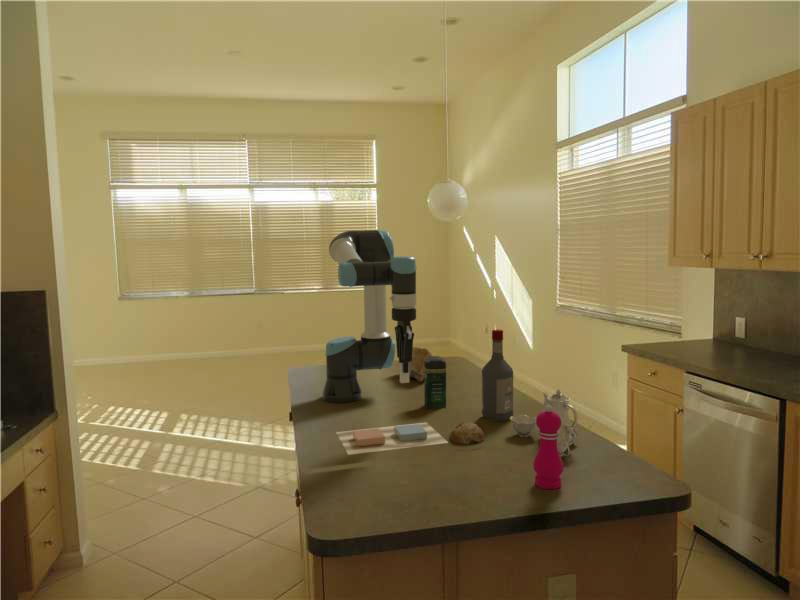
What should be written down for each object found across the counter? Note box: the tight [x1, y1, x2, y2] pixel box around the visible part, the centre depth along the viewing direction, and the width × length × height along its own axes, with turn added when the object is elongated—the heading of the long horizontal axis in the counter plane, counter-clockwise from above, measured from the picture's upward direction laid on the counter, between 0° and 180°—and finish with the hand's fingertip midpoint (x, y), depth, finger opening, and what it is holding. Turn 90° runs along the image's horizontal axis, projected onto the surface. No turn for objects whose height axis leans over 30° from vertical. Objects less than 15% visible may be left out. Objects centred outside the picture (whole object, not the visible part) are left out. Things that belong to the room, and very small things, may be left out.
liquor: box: [481, 329, 514, 422], centre depth 194 cm, size 9×9×30 cm
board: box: [335, 422, 449, 456], centre depth 174 cm, size 20×30×1 cm, turn 106°
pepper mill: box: [532, 405, 564, 490], centre depth 141 cm, size 7×7×20 cm
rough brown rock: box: [409, 346, 434, 383], centre depth 253 cm, size 23×17×15 cm
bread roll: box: [449, 421, 485, 445], centre depth 172 cm, size 10×10×8 cm
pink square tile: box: [352, 427, 385, 446], centre depth 171 cm, size 2×8×8 cm
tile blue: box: [394, 423, 427, 441], centre depth 174 cm, size 2×8×8 cm
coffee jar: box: [423, 355, 447, 410], centre depth 207 cm, size 10×8×19 cm
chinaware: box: [509, 388, 578, 458], centre depth 169 cm, size 28×17×17 cm, turn 23°
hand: (404, 382), depth 178 cm, fingers closed
